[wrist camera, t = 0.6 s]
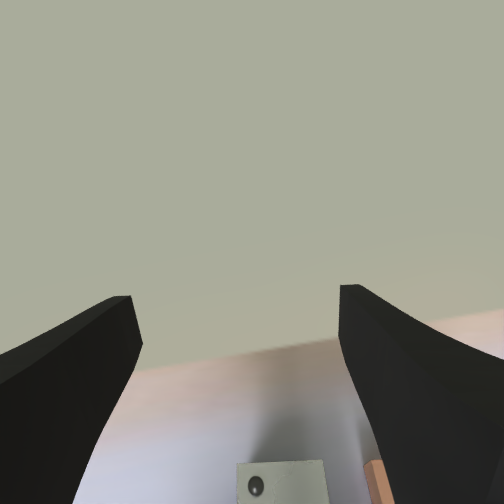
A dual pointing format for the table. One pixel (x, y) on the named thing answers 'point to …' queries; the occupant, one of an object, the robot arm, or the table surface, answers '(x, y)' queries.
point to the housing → (282, 483)
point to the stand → (378, 482)
